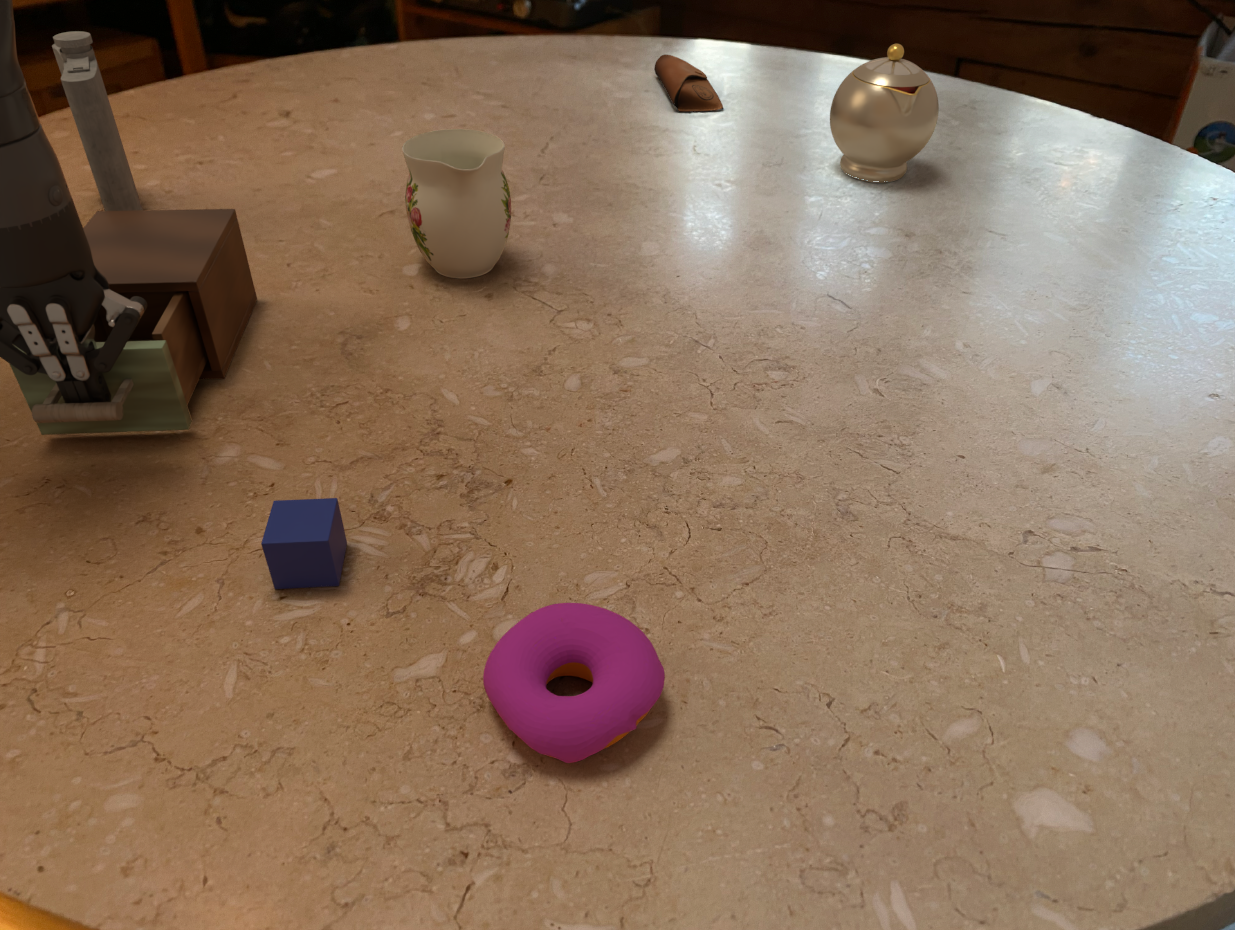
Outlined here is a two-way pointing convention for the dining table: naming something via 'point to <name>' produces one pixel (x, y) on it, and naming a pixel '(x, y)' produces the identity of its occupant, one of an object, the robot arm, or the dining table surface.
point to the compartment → (132, 375)
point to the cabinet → (181, 268)
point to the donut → (580, 649)
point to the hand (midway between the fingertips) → (93, 412)
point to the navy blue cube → (305, 543)
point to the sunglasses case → (686, 85)
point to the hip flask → (95, 121)
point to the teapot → (883, 117)
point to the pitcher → (458, 199)
